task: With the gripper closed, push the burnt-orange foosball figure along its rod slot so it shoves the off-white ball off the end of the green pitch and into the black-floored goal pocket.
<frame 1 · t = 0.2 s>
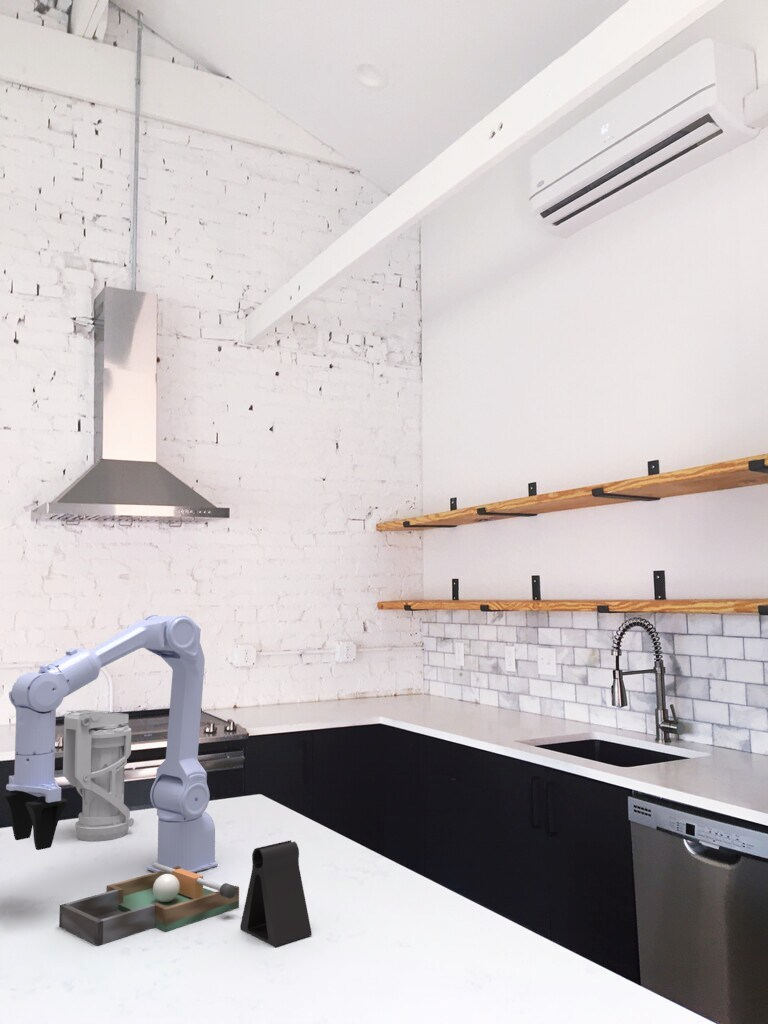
hand: (32, 843, 133), 10 cm above the countertop, tool pointing down, fingers open, 7 cm apart
kicker: (191, 883, 136), point 3 cm above the countertop, slide at 0.0 cm
pitch: (146, 914, 131), on the countertop
ball: (166, 888, 133), point 3 cm above the countertop, touching pitch
phone stand: (275, 934, 123), on the countertop
lantern: (96, 837, 175), on the countertop
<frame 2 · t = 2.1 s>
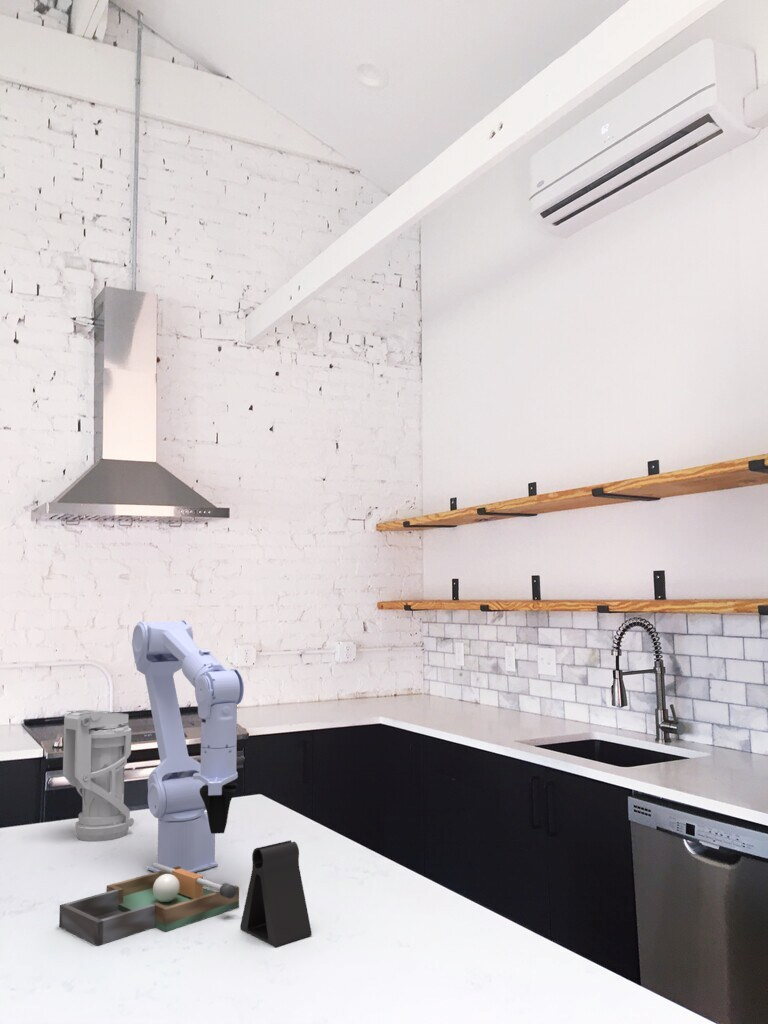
hand: (218, 831, 141), 9 cm above the countertop, tool pointing down, fingers closed
nothing on the countertop moved.
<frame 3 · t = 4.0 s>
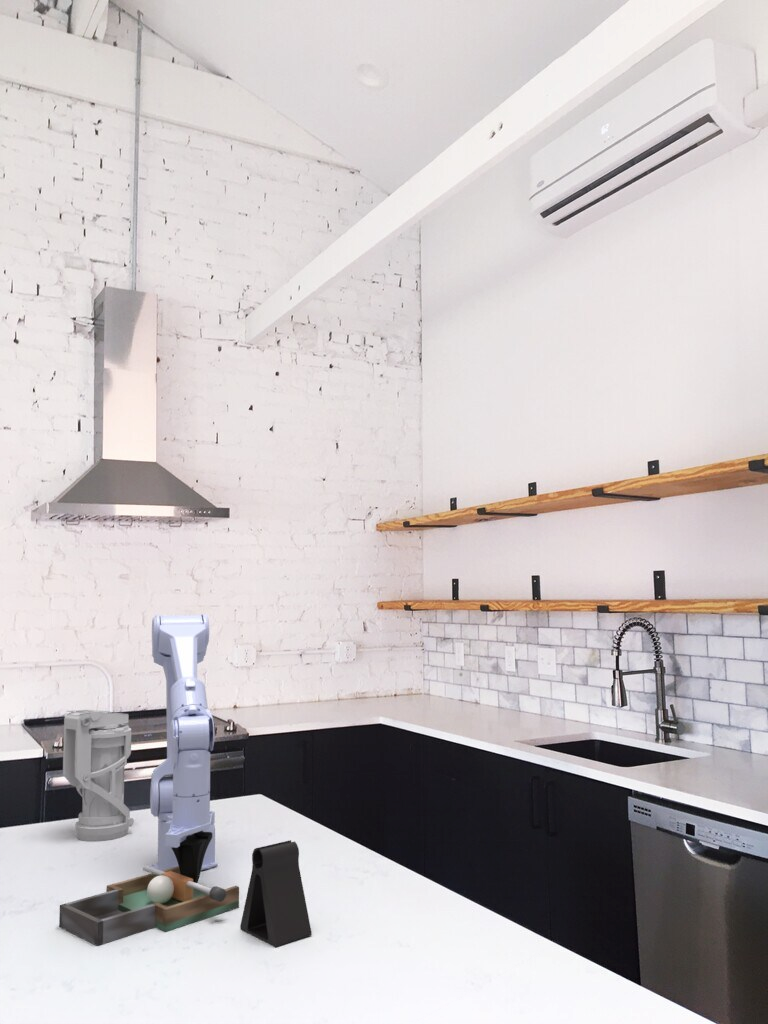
hand: (190, 882, 137), 3 cm above the countertop, tool pointing down, fingers closed
kicker: (181, 886, 134), point 3 cm above the countertop, slide at 1.9 cm, touching gripper
ball: (160, 889, 133), point 3 cm above the countertop, tilted 28°, touching pitch
everything else where it was.
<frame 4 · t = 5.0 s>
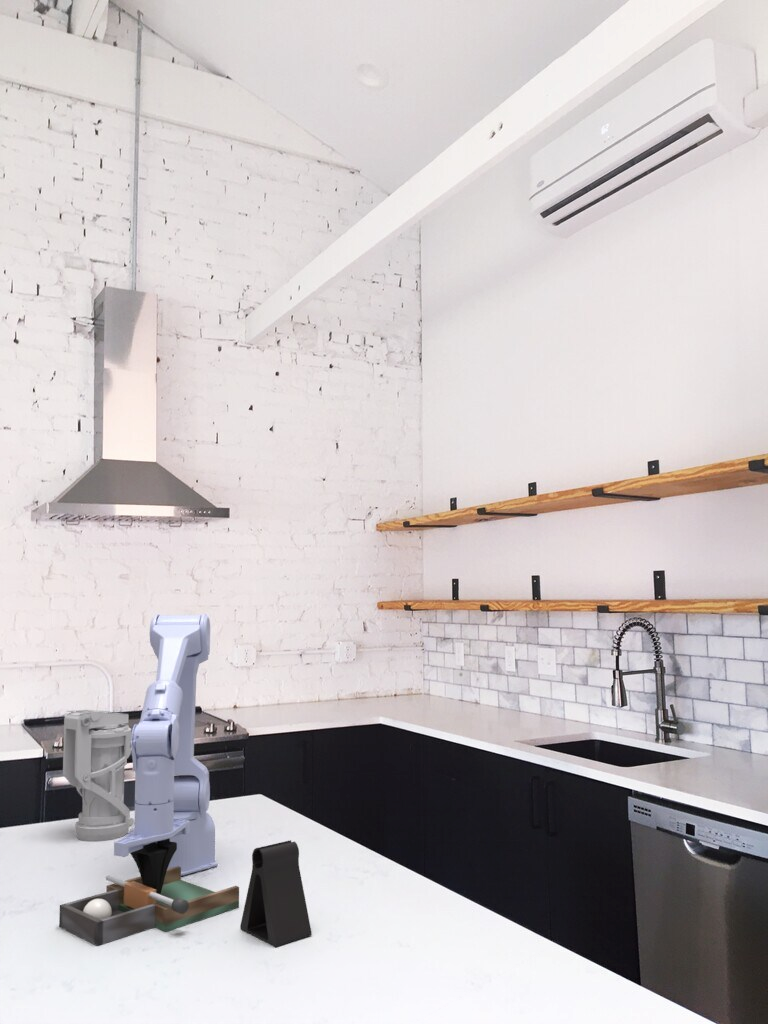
hand: (152, 893, 132), 3 cm above the countertop, tool pointing down, fingers closed
kicker: (143, 897, 129), point 3 cm above the countertop, slide at 8.4 cm, touching gripper
ball: (97, 914, 125), point 2 cm above the countertop, tilted 22°, touching pitch
everything else where it was.
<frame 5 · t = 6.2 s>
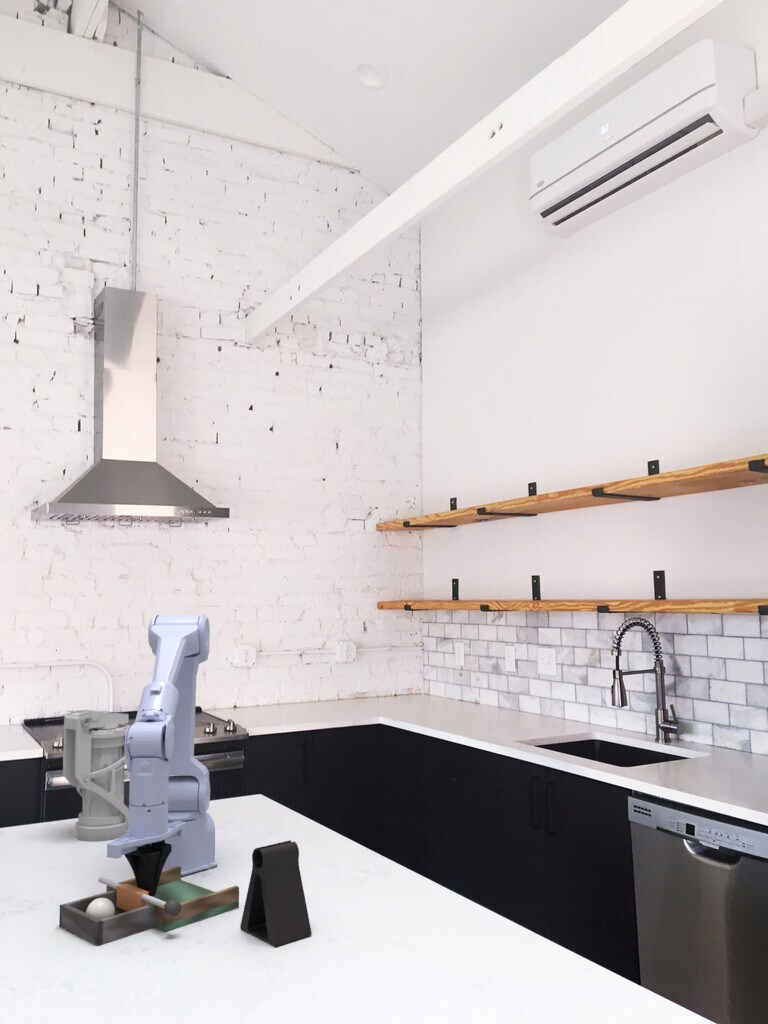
hand: (147, 895, 131), 3 cm above the countertop, tool pointing down, fingers closed
kicker: (136, 899, 129), point 3 cm above the countertop, slide at 9.6 cm
ball: (100, 913, 125), point 2 cm above the countertop, tilted 37°, touching pitch
everything else where it was.
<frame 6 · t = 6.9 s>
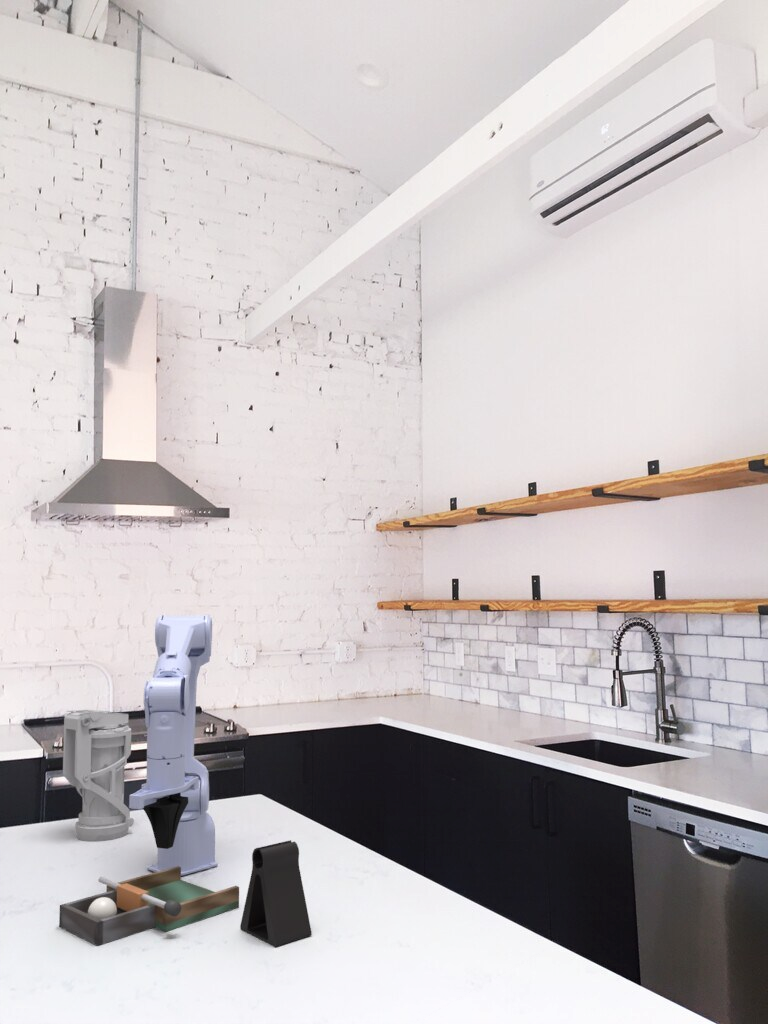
hand: (164, 847, 134), 9 cm above the countertop, tool pointing down, fingers closed
ball: (102, 912, 126), point 2 cm above the countertop, tilted 46°, touching pitch
everything else where it was.
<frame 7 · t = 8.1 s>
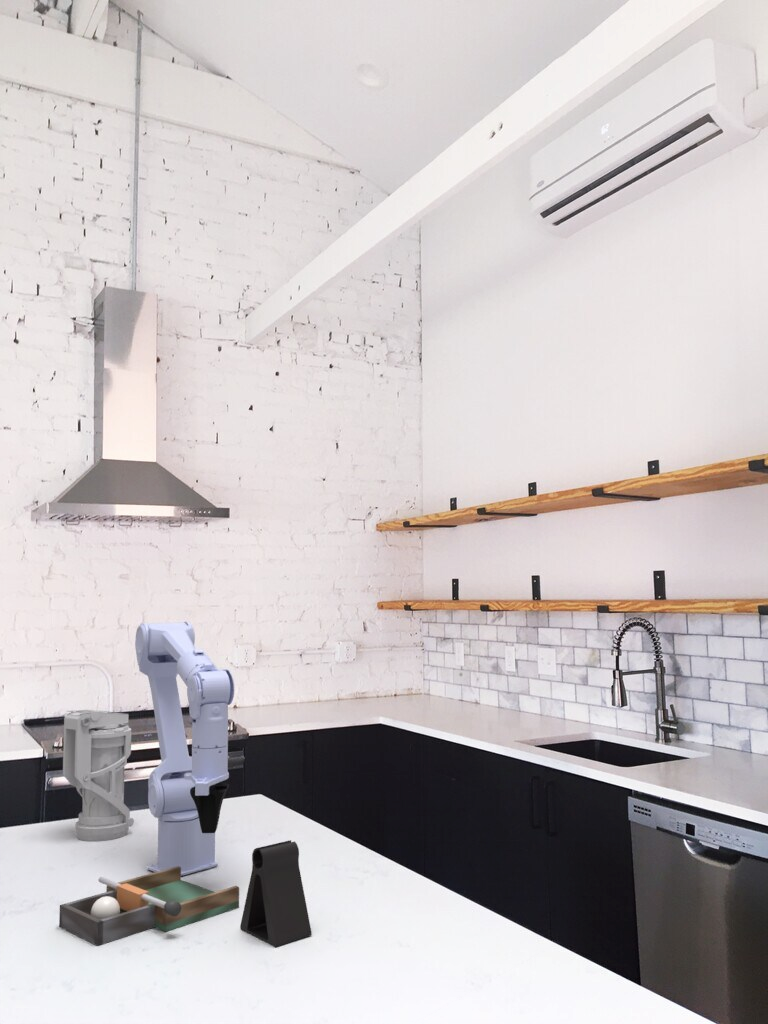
hand: (209, 832, 141), 9 cm above the countertop, tool pointing down, fingers closed
ball: (105, 911, 126), point 2 cm above the countertop, tilted 60°, touching pitch
everything else where it was.
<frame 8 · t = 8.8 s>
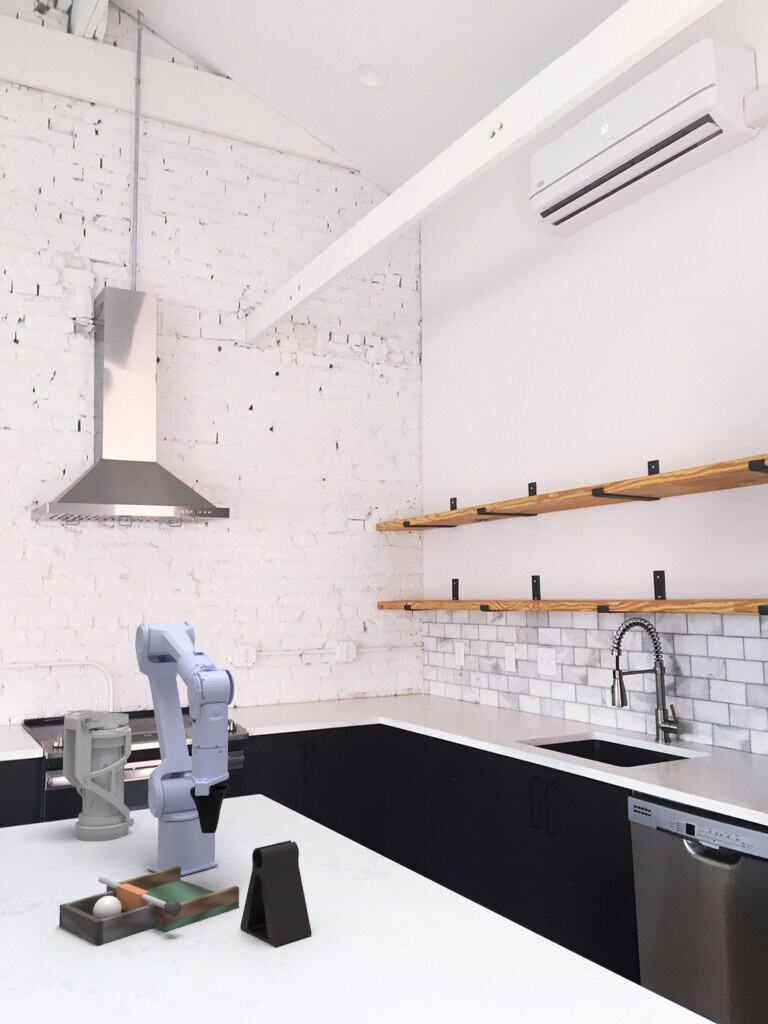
hand: (209, 832, 141), 9 cm above the countertop, tool pointing down, fingers closed
ball: (107, 910, 126), point 2 cm above the countertop, tilted 69°, touching pitch
everything else where it was.
at the end: ball inside the target area (0.4 cm from its centre), point 2.2 cm above the countertop; kicker slide at 9.6 cm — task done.
